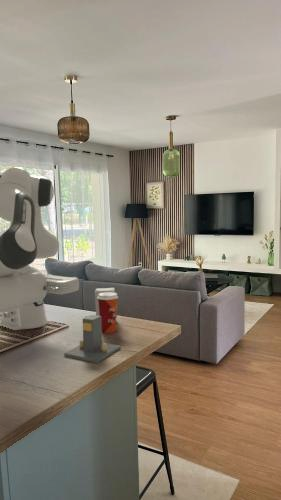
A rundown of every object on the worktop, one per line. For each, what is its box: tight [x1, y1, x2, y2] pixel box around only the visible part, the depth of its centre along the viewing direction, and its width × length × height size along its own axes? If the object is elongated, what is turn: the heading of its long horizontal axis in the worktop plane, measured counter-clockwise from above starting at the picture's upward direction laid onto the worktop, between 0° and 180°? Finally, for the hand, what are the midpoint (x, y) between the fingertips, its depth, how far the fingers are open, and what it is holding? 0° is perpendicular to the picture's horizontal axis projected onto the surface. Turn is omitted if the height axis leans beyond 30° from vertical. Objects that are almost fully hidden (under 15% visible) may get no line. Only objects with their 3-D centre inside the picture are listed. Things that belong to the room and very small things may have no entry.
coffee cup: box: [97, 292, 119, 334], centre depth 145 cm, size 8×8×15 cm
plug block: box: [82, 314, 103, 353], centre depth 122 cm, size 4×6×11 cm
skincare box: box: [94, 287, 118, 321], centre depth 157 cm, size 8×6×15 cm
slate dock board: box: [63, 336, 121, 364], centre depth 123 cm, size 13×14×4 cm
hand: (63, 278), depth 115 cm, fingers open, 8 cm apart
